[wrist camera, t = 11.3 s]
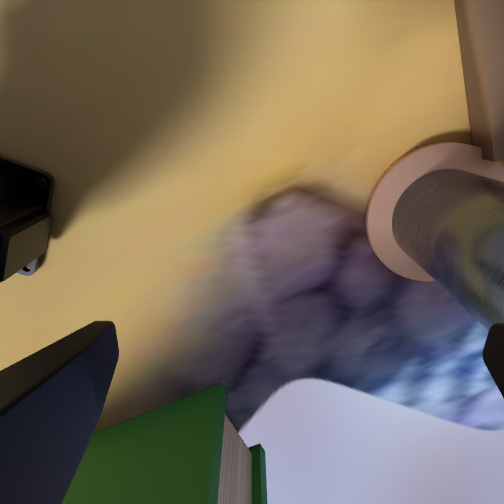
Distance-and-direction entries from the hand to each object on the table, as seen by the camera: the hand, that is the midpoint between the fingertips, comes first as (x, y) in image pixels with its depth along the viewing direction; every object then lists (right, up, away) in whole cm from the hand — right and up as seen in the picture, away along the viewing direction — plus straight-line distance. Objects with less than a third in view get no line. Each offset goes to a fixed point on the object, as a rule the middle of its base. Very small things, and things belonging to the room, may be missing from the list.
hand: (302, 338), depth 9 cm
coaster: (+9, +4, +12) cm, 16 cm away
